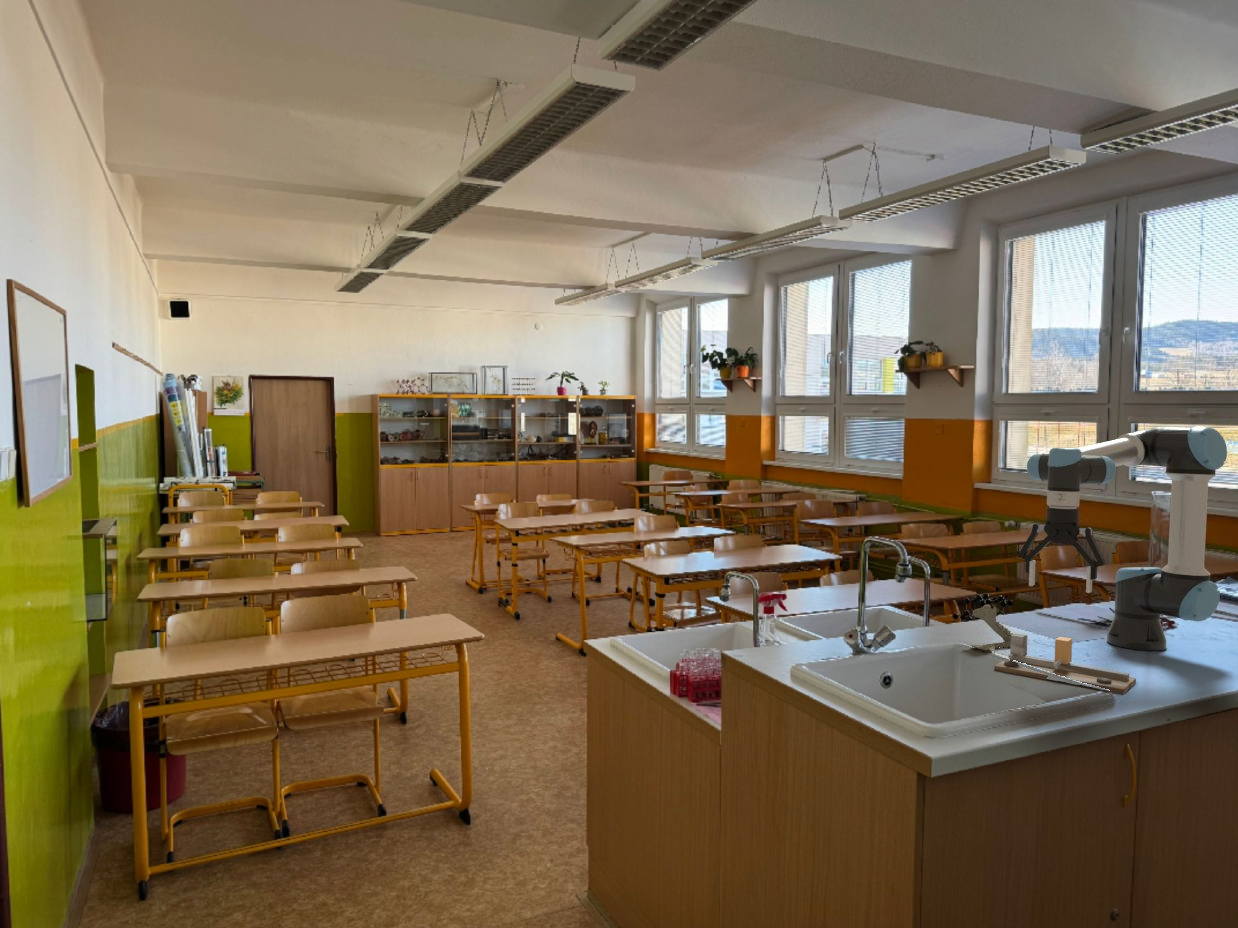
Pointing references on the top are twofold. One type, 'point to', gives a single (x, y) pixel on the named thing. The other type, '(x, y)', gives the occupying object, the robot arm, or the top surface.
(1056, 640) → the block
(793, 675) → the top surface
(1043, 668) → the gauge board
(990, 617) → the jawbone
